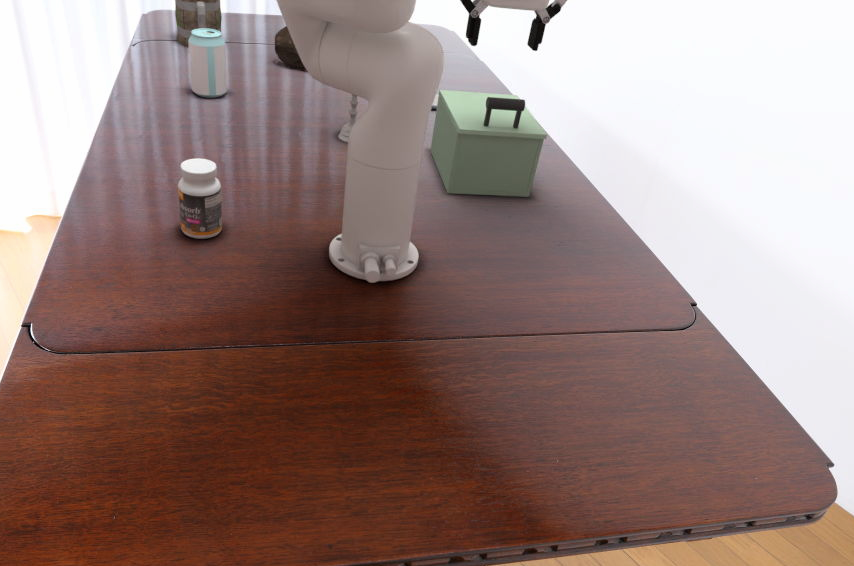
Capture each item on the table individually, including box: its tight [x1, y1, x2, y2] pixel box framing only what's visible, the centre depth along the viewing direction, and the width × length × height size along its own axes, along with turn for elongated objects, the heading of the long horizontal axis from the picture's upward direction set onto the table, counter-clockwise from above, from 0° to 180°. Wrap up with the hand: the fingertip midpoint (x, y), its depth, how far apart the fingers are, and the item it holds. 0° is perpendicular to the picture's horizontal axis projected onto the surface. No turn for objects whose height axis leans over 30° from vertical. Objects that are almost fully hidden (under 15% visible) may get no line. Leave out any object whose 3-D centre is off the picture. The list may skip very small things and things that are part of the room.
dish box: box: [429, 95, 545, 198], centre depth 120 cm, size 18×15×11 cm
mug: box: [174, 0, 223, 48], centre depth 162 cm, size 16×11×12 cm
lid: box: [438, 89, 548, 140], centre depth 115 cm, size 18×15×5 cm
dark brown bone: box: [274, 25, 307, 71], centre depth 167 cm, size 11×10×28 cm
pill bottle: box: [177, 157, 223, 240], centre depth 94 cm, size 6×6×10 cm
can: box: [188, 28, 228, 99], centre depth 137 cm, size 7×7×12 cm
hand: (502, 45), depth 105 cm, fingers open, 9 cm apart
